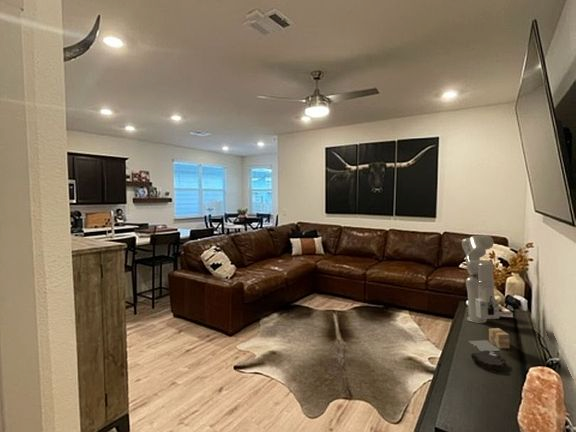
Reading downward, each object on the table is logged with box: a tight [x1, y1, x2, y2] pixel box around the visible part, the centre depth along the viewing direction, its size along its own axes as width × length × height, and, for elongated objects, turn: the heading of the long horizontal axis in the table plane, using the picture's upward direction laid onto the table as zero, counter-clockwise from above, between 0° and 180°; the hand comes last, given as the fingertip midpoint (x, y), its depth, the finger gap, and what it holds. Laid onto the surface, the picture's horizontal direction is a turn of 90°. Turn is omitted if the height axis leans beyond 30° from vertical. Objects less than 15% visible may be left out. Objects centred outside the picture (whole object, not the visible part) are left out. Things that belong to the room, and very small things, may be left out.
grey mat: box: [468, 339, 501, 352], centre depth 194 cm, size 14×11×1 cm
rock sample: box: [470, 350, 507, 373], centre depth 173 cm, size 18×16×5 cm
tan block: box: [488, 327, 511, 349], centre depth 194 cm, size 10×6×8 cm, turn 178°
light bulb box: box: [475, 298, 500, 320], centre depth 194 cm, size 11×7×11 cm, turn 84°
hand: (487, 312), depth 194 cm, fingers closed on light bulb box, 6 cm apart
